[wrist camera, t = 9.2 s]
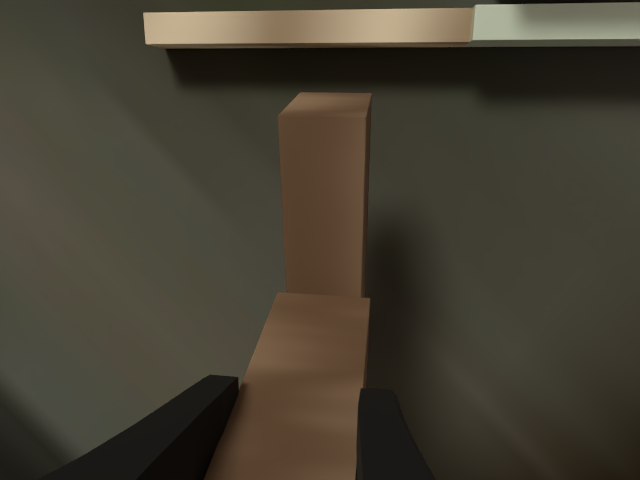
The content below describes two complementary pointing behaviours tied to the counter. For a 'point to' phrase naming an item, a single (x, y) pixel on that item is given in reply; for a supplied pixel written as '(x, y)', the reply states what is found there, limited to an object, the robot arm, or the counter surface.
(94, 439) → the counter surface
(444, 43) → the slot rails
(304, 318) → the l-shaped wooden block
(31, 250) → the counter surface
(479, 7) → the tray
